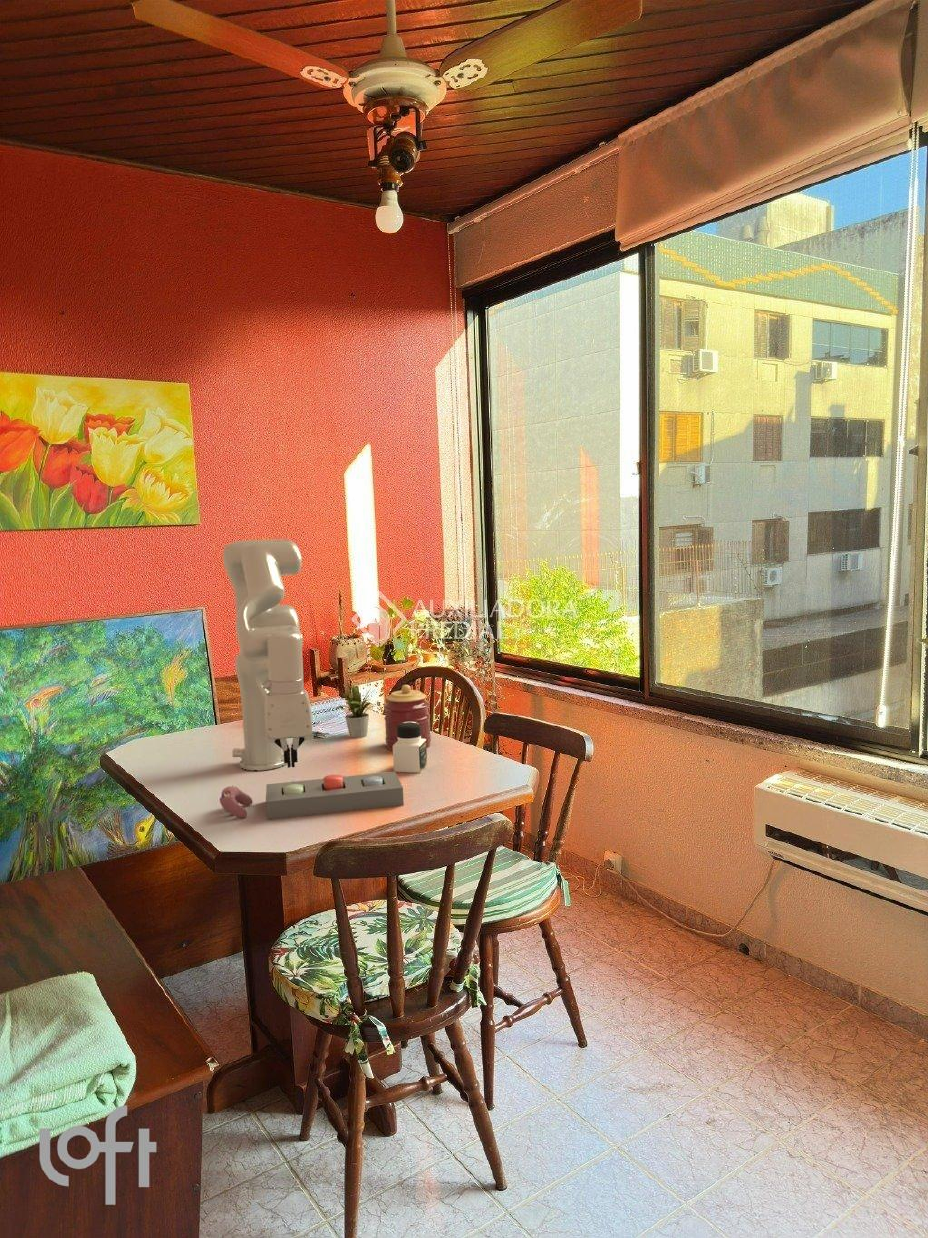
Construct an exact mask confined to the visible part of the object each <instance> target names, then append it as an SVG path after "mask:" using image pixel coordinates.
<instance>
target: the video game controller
mask: <svg viewBox="0 0 928 1238" xmlns="http://www.w3.org/2000/svg"><path fill="white" fill-rule="evenodd" d="M219 803H220V805H221V807H222V808H223V810H224V811H225V812H228V813H229V814H230V815H231V816H234V817H235V818H238V817H241V818H240V819H243V818H242V817H245V818H246V817H247V816H248V811H247V809H246V808H244V807H243V806H246V805H250V804H251V805H253V798H252V797H251V796H250V795H248V794H247V793H245V792H244V791H243V790H241V789H240V788H239V787H238V786H235V785H234V784H233V785H231V786H230V785H229V786H226V787H224V788H223V789H222V791H221V797H220V798H219ZM251 805H250V806H251Z"/></svg>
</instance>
